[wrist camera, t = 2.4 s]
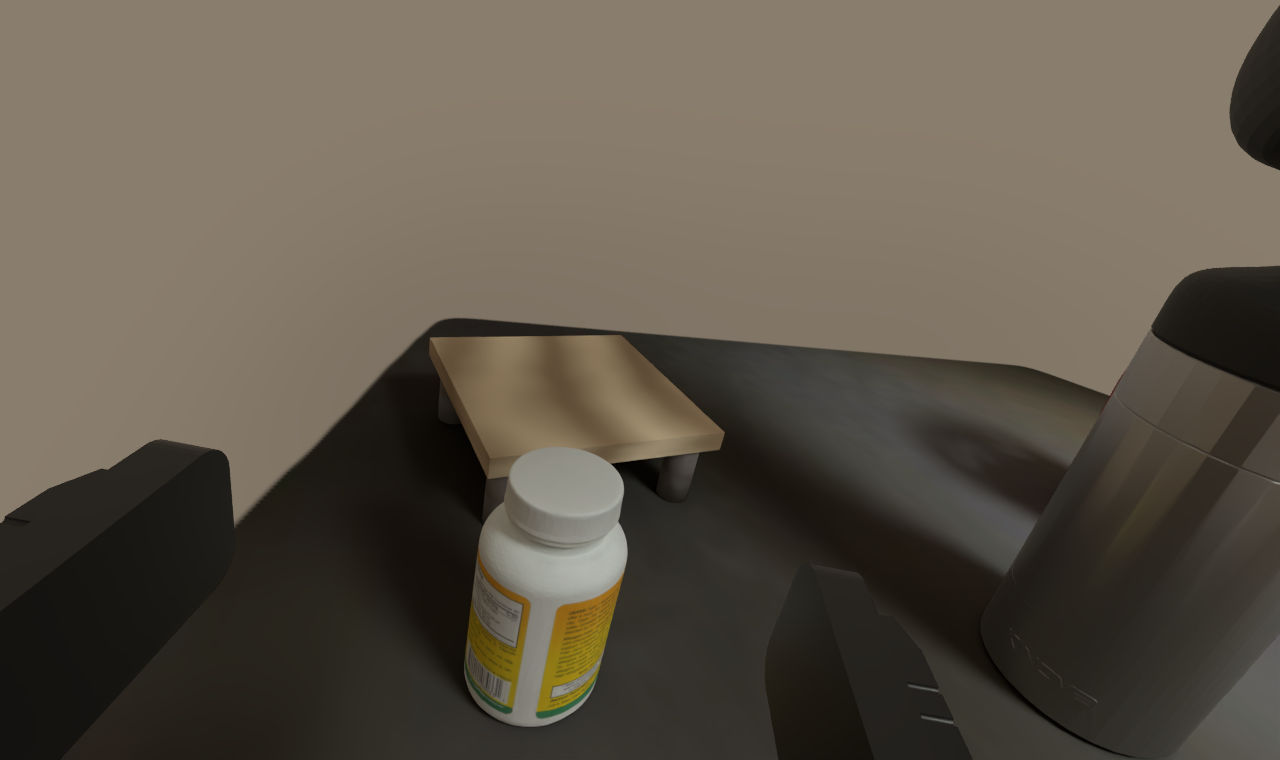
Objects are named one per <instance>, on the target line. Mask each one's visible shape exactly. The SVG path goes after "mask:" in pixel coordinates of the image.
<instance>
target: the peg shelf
mask: <svg viewBox="0 0 1280 760" xmlns="http://www.w3.org/2000/svg"><path fill="white" fill-rule="evenodd" d="M429 355H430V357H431V359H432V362H433V364H434V366H435V368H436V370H437V372H438V374H439V376H440V394H439V409H438V418H439V420H440V421H442V422H444V423H447V424H452V425H457V424H462V425H463V427H464V429H465V432H466V434H467V436H468V438H469V440H470V442H471V444H472V446H473V449H474V451H475V453H476V455H477V457H478V459H479V461H480V463H481V465H482V468H483V470H484V472H485V474H486V476H487V478H486V487H485V496H484V505H483V514H482V523H483V525H484V524H485V522H486V520H487V518H488V517H489V515H490V514H491V513H492V512H493V511H494V510H495V509H496V508H497V507H498V506H499V505H500V504H502V503H503V502H504V496H505V492H506V487H507V481H508V476H509V471H510V469H511V466H512V465H513V464H514V462H515V461H516V460H517V459H518V458H519V457H521V456H522V455H524V454H526V453H528V452H530V451H533V450H536V449H541V448H546V447H570V448H575V449H580V450H584V451H587V452H590V453H592V454H595V455H597V456H599V457H601V458H603V459H604V460H606V461H607V462H609V463H610V464H611V463H619V462H626V461H634V460H642V459H650V458H658V457H664V459H663V463H662V467H661V471H660V475H659V479H658V483H657V487H656V492H657V494H658V495H659V496H660V497H661V498H663V499H665V500H667V501H670V502H682V501H684V500H685V499H686V498H687V495H688V491H689V488H690V484H691V480H692V477H693V473H694V470H695V466H696V463H697V459H698V456H699V452H705V451H713V450H720V447H721V444H722V440H723V437H724V434H725V432H724V431H723V430H722V429H720V428H719V427H718V426H717V425H716V424H715V423H714V422H713V421H712V420H711V419H710V418H709V417H708V416H707V415H706V414H704V413H703V412H702V411H701V410H700V409H699V408H698V407H697V406H696V405H695V404H694V403H693V402H692V401H691V400H690V399H688V398H687V397H686V396H685V395H684V394H683V393H682V392H681V391H680V390H679V389H678V388H677V387H676V386H675V385H674V384H672V383H671V382H670V381H669V380H668V379H667V378H666V377H665V376H664V375H663V374H662V373H661V372H660V371H659V370H657V369H656V368H655V367H654V366H653V365H652V364H651V363H650V362H649V361H648V360H647V359H646V358H645V357H644V356H643V355H641V354H640V353H639V352H638V351H637V350H636V349H635V348H634V347H633V346H632V345H631V344H630V343H629V342H628V341H627V340H625V339H624V338H623V337H622V336H621V335H606V336H524V337H442V338H430V348H429Z"/></svg>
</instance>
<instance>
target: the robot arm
mask: <svg viewBox="0 0 1280 760" xmlns="http://www.w3.org/2000/svg"><path fill="white" fill-rule="evenodd" d="M1230 123H1231V129H1232V132H1233V134H1234V136H1235V138H1236V141H1237V143H1238V144H1239V146H1240V147H1241V148H1242V149H1243V150H1244V151H1245V152H1246V153H1248V154H1249V155H1250V156H1251V157H1252V158H1254V159H1255V160H1257V161H1259V162H1261V163H1263V164H1265V165H1267V166H1270V167H1273V168H1275V169H1278V170H1280V6H1279V7H1278V8H1277V10H1276V11H1275V12H1274V14H1273V15H1272V16H1271V18H1270V19H1269V21H1268V22H1267V24H1266V25H1265V27H1264V28H1263V30H1262V31H1261V33H1260V34H1259V36H1258V37H1257V39H1256V41H1255V42H1254V44H1253V46H1252V47H1251V49H1250V51H1249V52H1248V54H1247V56H1246V58H1245V60H1244V63H1243V64H1242V67H1241V69H1240V71H1239V74H1238V76H1237V78H1236V82H1235V85H1234V88H1233V92H1232V97H1231V104H1230ZM234 548H235V532H234V519H233V506H232V494H231V481H230V468H229V462H228V459H227V457H226V455H225V454H224V453H223V452H222V451H219V450H215V449H210V448H204V447H199V446H193V445H188V444H183V443H178V442H172V441H167V440H161V439H160V440H155V441H152V442H149V443H148V444H146V445H144V446H143V447H141V448H140V449H139V450H137V451H136V452H134V453H132V454H131V455H129V456H128V457H126V458H125V459H123V460H122V461H121V462H119V463H118V464H116V465H114V466H113V467H111V468H110V469H108V470H105V469H99V470H97V471H94V472H91V473H89V474H86V475H84V476H81V477H78V478H76V479H73V480H70V481H68V482H65V483H62V484H60V485H57V486H54V487H52V488H49V489H47V490H46V491H44V492H43V493H41V494H39V495H38V496H36V497H35V498H33V499H32V500H30V501H28V502H27V503H25V504H24V505H22V506H21V507H19V508H17V509H16V510H14V511H13V512H11V513H10V514H8V515H7V516H5V519H4V521H3V522H2V523H0V760H60V759H61V758H62V757H63V756H64V755H65V754H66V752H67V751H68V750H69V749H70V748H71V747H72V746H73V745H74V744H75V743H76V741H77V740H78V739H79V738H80V737H81V736H82V735H83V734H84V733H85V732H86V731H87V729H88V728H89V727H90V726H91V725H92V724H93V723H94V722H95V721H96V720H97V718H98V717H99V716H100V715H101V714H102V713H103V712H104V711H105V710H106V709H107V707H108V706H109V705H110V704H111V703H112V702H113V701H114V700H115V699H116V698H117V696H118V695H119V694H120V693H121V692H122V691H123V690H124V689H125V688H126V687H127V685H128V684H129V683H130V682H131V681H132V680H133V679H134V678H135V677H136V676H137V674H138V673H139V672H140V671H141V670H142V669H143V668H144V667H145V666H146V665H147V664H148V662H149V661H150V660H151V659H152V658H153V657H154V656H155V655H156V654H157V653H158V651H159V650H160V649H161V648H162V647H163V646H164V645H165V644H166V643H167V642H168V640H169V639H170V638H171V637H172V636H173V635H174V634H175V633H176V632H177V631H178V629H179V628H180V627H181V626H182V625H183V624H184V623H185V622H186V621H187V620H188V618H189V617H190V616H191V615H192V614H193V613H194V612H195V611H196V610H197V609H198V607H199V606H200V605H201V604H202V603H203V602H204V601H205V600H206V599H207V598H208V597H209V595H210V594H211V593H212V592H213V591H214V590H215V589H216V588H217V586H218V585H219V584H220V582H221V581H222V579H223V578H224V576H225V574H226V572H227V570H228V568H229V566H230V563H231V560H232V557H233V553H234ZM980 633H981V636H982V639H983V642H984V645H985V648H986V650H987V651H988V653H989V655H990V657H991V658H992V660H993V662H994V663H995V665H996V666H997V667H998V669H999V670H1000V671H1001V672H1002V674H1003V675H1004V676H1005V678H1006V679H1007V680H1008V681H1009V682H1010V683H1011V684H1012V685H1013V686H1014V687H1015V688H1016V689H1017V690H1018V691H1019V692H1020V693H1021V694H1022V695H1023V696H1024V697H1025V698H1026V699H1027V700H1028V701H1030V702H1031V703H1032V704H1033V705H1035V706H1036V707H1037V708H1038V709H1039V710H1041V711H1042V712H1043V713H1044V714H1046V715H1047V716H1048V717H1050V718H1051V719H1053V720H1054V721H1056V722H1057V723H1059V724H1060V725H1062V726H1063V727H1065V728H1066V729H1068V730H1069V731H1071V732H1073V733H1075V734H1077V735H1079V736H1081V737H1082V738H1084V739H1086V740H1088V741H1090V742H1092V743H1094V744H1096V745H1099V746H1101V747H1104V748H1106V749H1109V750H1111V751H1114V752H1117V753H1121V754H1125V755H1128V756H1132V757H1136V758H1151V759H1157V758H1161V757H1165V756H1169V755H1171V754H1172V753H1173V752H1174V751H1176V750H1177V749H1178V748H1179V747H1180V746H1181V745H1182V744H1183V743H1184V741H1185V740H1186V739H1187V738H1188V737H1189V736H1190V735H1191V734H1192V732H1193V731H1194V730H1195V729H1196V728H1197V727H1198V726H1199V724H1200V723H1201V722H1202V721H1203V720H1204V719H1205V718H1206V716H1207V715H1208V714H1209V713H1210V712H1211V711H1212V710H1213V708H1214V707H1215V706H1216V705H1217V704H1218V703H1219V702H1220V700H1221V699H1222V698H1223V697H1224V696H1225V695H1226V694H1227V693H1228V692H1229V691H1230V690H1231V689H1232V688H1233V686H1234V685H1235V684H1236V683H1237V682H1238V681H1239V680H1240V679H1241V677H1242V676H1243V675H1244V674H1245V673H1246V672H1247V671H1248V669H1249V668H1250V667H1251V666H1252V665H1253V664H1254V663H1255V661H1256V660H1257V659H1258V658H1259V657H1260V656H1261V655H1262V653H1263V652H1264V651H1265V650H1266V649H1267V648H1268V647H1269V645H1270V644H1271V643H1272V642H1273V641H1274V640H1275V639H1276V637H1277V636H1278V635H1279V634H1280V266H1269V267H1229V268H1228V267H1227V268H1212V269H1206V270H1201V271H1197V272H1195V273H1192V274H1190V275H1189V276H1187V277H1185V278H1184V279H1183V280H1182V281H1181V282H1180V283H1179V284H1178V285H1177V286H1176V287H1175V288H1174V290H1173V291H1172V293H1171V294H1170V296H1169V297H1168V299H1167V300H1166V302H1165V304H1164V306H1163V307H1162V309H1161V311H1160V312H1159V314H1158V316H1157V317H1156V319H1155V321H1154V322H1153V324H1152V328H1151V329H1150V330H1149V332H1148V333H1147V336H1146V337H1145V339H1144V340H1143V342H1142V344H1141V345H1140V347H1139V349H1138V351H1137V353H1136V354H1135V356H1134V358H1133V359H1132V361H1131V363H1130V364H1129V366H1128V368H1127V369H1126V371H1125V373H1124V374H1123V376H1122V378H1121V380H1120V381H1119V383H1118V385H1117V386H1116V388H1115V391H1114V392H1113V394H1112V396H1111V397H1110V399H1109V401H1108V402H1107V404H1106V406H1105V408H1104V409H1103V411H1102V413H1101V414H1100V416H1099V418H1098V419H1097V421H1096V423H1095V424H1094V426H1093V428H1092V430H1091V431H1090V433H1089V435H1088V436H1087V438H1086V440H1085V441H1084V443H1083V445H1082V447H1081V448H1080V450H1079V452H1078V453H1077V455H1076V457H1075V458H1074V460H1073V462H1072V464H1071V465H1070V467H1069V469H1068V470H1067V472H1066V474H1065V475H1064V477H1063V479H1062V480H1061V482H1060V484H1059V486H1058V487H1057V489H1056V491H1055V492H1054V494H1053V496H1052V497H1051V499H1050V501H1049V503H1048V504H1047V506H1046V508H1045V509H1044V511H1043V513H1042V514H1041V516H1040V518H1039V520H1038V521H1037V523H1036V525H1035V526H1034V528H1033V530H1032V531H1031V533H1030V535H1029V537H1028V538H1027V540H1026V542H1025V543H1024V545H1023V547H1022V548H1021V550H1020V552H1019V553H1018V555H1017V557H1016V558H1015V560H1014V561H1013V563H1012V565H1011V567H1010V568H1009V570H1008V572H1007V573H1006V575H1005V577H1004V579H1003V580H1002V582H1001V584H1000V585H999V587H998V589H997V590H996V592H995V594H994V596H993V597H992V599H991V601H990V602H989V604H988V606H987V608H986V609H985V611H984V613H983V615H982V618H981V621H980ZM765 685H766V691H767V697H768V703H769V708H770V714H771V720H772V726H773V731H774V737H775V743H776V748H777V754H778V760H973V759H972V757H971V755H970V753H969V751H968V748H967V746H966V744H965V742H964V740H963V738H962V736H961V734H960V731H959V729H958V727H955V726H953V717H952V714H951V712H950V710H949V708H948V706H947V704H946V702H945V700H944V697H943V695H941V694H939V693H938V688H939V687H938V685H937V682H936V680H935V678H934V676H933V674H932V672H931V670H930V668H929V665H928V663H927V661H926V659H925V657H924V655H923V653H922V651H921V649H920V648H919V647H918V646H917V645H916V644H915V643H914V641H913V640H912V639H911V638H910V637H909V636H908V634H907V633H906V632H905V631H904V630H903V629H902V628H901V626H900V625H899V624H898V623H897V622H896V621H895V620H894V618H893V617H887V616H882V615H878V613H877V610H876V608H875V606H874V603H873V601H872V598H871V596H870V594H869V591H868V589H867V586H866V584H865V582H864V580H863V578H862V577H861V575H860V574H858V573H856V572H851V571H846V570H840V569H835V568H830V567H825V566H819V565H814V564H809V563H804V564H803V565H801V567H800V568H799V569H798V571H797V573H796V575H795V578H794V580H793V583H792V585H791V588H790V590H789V593H788V595H787V598H786V600H785V603H784V605H783V608H782V610H781V613H780V615H779V618H778V620H777V623H776V625H775V628H774V630H773V633H772V635H771V638H770V641H769V644H768V648H767V653H766V661H765Z"/></svg>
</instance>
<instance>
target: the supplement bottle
mask: <svg viewBox="0 0 1280 760" xmlns="http://www.w3.org/2000/svg"><path fill="white" fill-rule="evenodd" d="M623 494H624V484H623V480H622V478H621V476H620V474H619V473H618V471H617V470H616V469H615V468H614V467H613V466H612V465H611V464H610V463H609V462H607V461H606V460H604V459H603V458H601V457H599V456H597V455H595V454H592V453H590V452H587V451H584V450H580V449H575V448H570V447H546V448H541V449H536V450H533V451H530V452H528V453H526V454H524V455H522V456H521V457H519V458H518V459H517V460H516V461H515V462H514V464H513V465H512V466H511V469H510V471H509V476H508V481H507V487H506V492H505V496H504V502H503V503H502V504H500V505H499V506H498V507H497V508H496V509H495V510H494V511H493V512H492V513H491V514H490V515H489V517H488V518H487V520H486V522H485V524H484V526H483V528H482V531H481V535H480V539H479V546H478V554H477V562H476V570H475V578H474V586H473V595H472V602H471V610H470V618H469V627H468V635H467V643H466V651H465V661H464V673H465V679H466V683H467V686H468V689H469V691H470V693H471V695H472V697H473V698H474V700H475V701H476V702H477V704H478V705H479V706H480V707H481V708H482V709H483V710H484V711H485V712H487V713H488V714H490V715H491V716H492V717H494V718H496V719H498V720H500V721H502V722H505V723H508V724H511V725H516V726H523V727H535V726H543V725H548V724H551V723H553V722H556V721H558V720H560V719H563V718H564V717H566V716H568V715H570V714H571V713H573V712H574V711H575V710H577V709H578V708H579V707H580V706H581V705H582V704H583V703H584V702H585V701H586V699H587V698H588V696H589V695H590V693H591V691H592V689H593V687H594V685H595V682H596V679H597V675H598V671H599V668H600V663H601V659H602V656H603V652H604V647H605V643H606V639H607V636H608V631H609V627H610V623H611V620H612V616H613V612H614V608H615V604H616V600H617V597H618V593H619V590H620V585H621V582H622V578H623V574H624V570H625V566H626V561H627V542H626V538H625V535H624V532H623V530H622V528H621V526H620V524H619V522H618V519H619V516H620V509H621V505H622V499H623Z"/></svg>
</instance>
